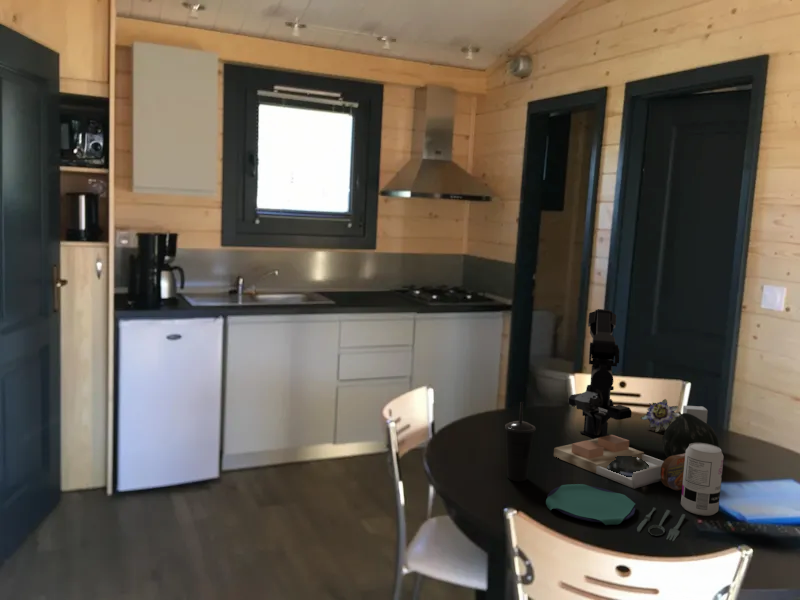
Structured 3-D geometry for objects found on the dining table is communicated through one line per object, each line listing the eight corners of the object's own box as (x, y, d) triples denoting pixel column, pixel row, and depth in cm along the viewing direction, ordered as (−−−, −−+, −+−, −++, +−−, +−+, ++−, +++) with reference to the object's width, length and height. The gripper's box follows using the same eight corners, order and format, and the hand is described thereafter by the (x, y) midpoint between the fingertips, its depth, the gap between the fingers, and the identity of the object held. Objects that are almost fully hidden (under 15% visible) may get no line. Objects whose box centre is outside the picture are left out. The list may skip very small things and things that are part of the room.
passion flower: (656, 448, 230) (635, 416, 230) (661, 433, 239) (642, 403, 239) (688, 435, 223) (666, 403, 224) (692, 421, 233) (672, 389, 233)
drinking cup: (534, 475, 186) (539, 400, 183) (529, 485, 179) (534, 407, 176) (505, 470, 188) (509, 396, 186) (499, 480, 181) (503, 403, 179)
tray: (596, 473, 189) (597, 458, 188) (643, 460, 200) (644, 447, 200) (634, 488, 179) (635, 473, 179) (681, 474, 191) (682, 460, 190)
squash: (729, 442, 203) (694, 398, 205) (728, 459, 190) (691, 413, 192) (686, 466, 209) (653, 424, 211) (682, 485, 196) (647, 440, 198)
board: (553, 456, 201) (554, 447, 201) (600, 445, 213) (601, 437, 212) (596, 473, 189) (596, 464, 189) (643, 460, 200) (643, 452, 200)
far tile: (597, 446, 204) (598, 437, 204) (611, 442, 207) (612, 434, 207) (614, 452, 199) (615, 443, 199) (628, 449, 202) (629, 440, 202)
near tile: (571, 452, 198) (572, 443, 197) (586, 448, 201) (586, 440, 201) (588, 458, 193) (589, 449, 192) (603, 455, 196) (603, 446, 196)
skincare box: (700, 444, 217) (703, 406, 216) (704, 449, 213) (708, 410, 212) (679, 443, 218) (683, 405, 216) (683, 447, 214) (687, 408, 212)
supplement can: (674, 502, 172) (679, 441, 170) (707, 502, 172) (713, 442, 171) (690, 516, 164) (696, 453, 162) (725, 516, 164) (731, 453, 163)
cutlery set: (564, 485, 180) (564, 476, 180) (689, 518, 164) (690, 509, 164) (533, 512, 163) (534, 503, 163) (670, 552, 147) (671, 542, 147)
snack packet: (666, 492, 178) (669, 459, 177) (656, 488, 181) (659, 455, 180) (707, 484, 185) (710, 452, 184) (697, 480, 187) (700, 448, 186)
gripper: (557, 378, 209) (553, 430, 211) (608, 393, 194) (604, 448, 196) (582, 374, 215) (579, 424, 217) (634, 388, 200) (630, 442, 202)
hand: (596, 434), depth 208 cm, fingers closed
